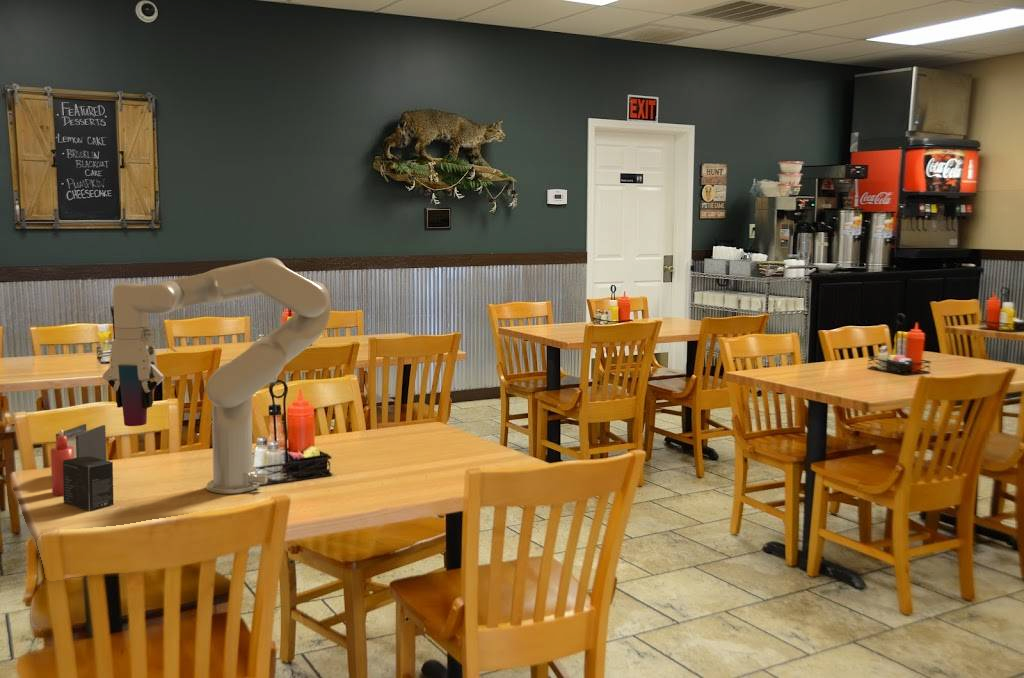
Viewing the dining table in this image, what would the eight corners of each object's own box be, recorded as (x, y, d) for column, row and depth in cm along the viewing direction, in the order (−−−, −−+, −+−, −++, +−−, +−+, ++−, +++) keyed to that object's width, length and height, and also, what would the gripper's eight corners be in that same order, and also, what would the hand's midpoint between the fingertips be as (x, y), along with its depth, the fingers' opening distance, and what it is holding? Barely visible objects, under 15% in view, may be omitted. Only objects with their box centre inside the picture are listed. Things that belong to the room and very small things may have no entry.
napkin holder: (106, 470, 236) (105, 425, 234) (79, 483, 224) (77, 435, 222) (85, 469, 236) (84, 424, 235) (57, 481, 225) (55, 434, 223)
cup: (139, 427, 213) (136, 366, 211) (114, 426, 214) (111, 365, 212) (156, 421, 220) (153, 362, 218) (131, 420, 221) (129, 361, 219)
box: (115, 504, 208) (113, 461, 206) (89, 511, 202) (87, 467, 201) (88, 496, 213) (87, 454, 212) (62, 503, 208) (60, 460, 206)
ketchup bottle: (79, 490, 218) (77, 428, 216) (67, 496, 213) (64, 433, 211) (60, 489, 219) (58, 427, 217) (47, 495, 214) (45, 432, 212)
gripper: (173, 333, 217) (175, 405, 219) (107, 331, 219) (110, 402, 221) (157, 337, 209) (160, 411, 212) (89, 335, 212) (92, 408, 214)
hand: (134, 406), depth 216 cm, fingers closed on cup, 6 cm apart
